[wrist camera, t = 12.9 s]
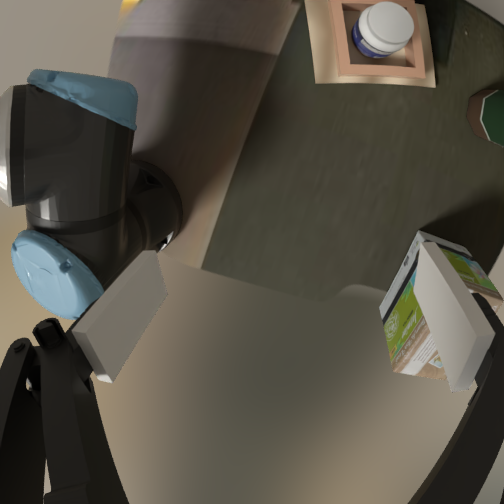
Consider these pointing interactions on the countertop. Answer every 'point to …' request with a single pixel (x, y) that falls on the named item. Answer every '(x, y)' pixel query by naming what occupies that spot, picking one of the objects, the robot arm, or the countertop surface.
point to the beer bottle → (487, 115)
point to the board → (326, 53)
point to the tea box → (410, 314)
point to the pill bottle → (382, 30)
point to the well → (413, 70)
